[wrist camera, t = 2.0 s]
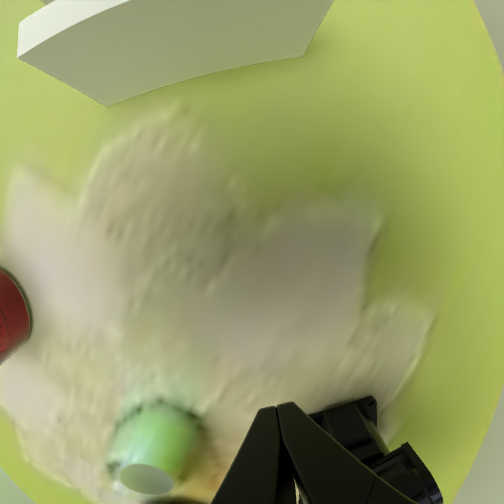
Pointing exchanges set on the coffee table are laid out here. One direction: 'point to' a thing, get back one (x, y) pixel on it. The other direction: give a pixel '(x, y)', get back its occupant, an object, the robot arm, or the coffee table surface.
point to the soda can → (12, 318)
